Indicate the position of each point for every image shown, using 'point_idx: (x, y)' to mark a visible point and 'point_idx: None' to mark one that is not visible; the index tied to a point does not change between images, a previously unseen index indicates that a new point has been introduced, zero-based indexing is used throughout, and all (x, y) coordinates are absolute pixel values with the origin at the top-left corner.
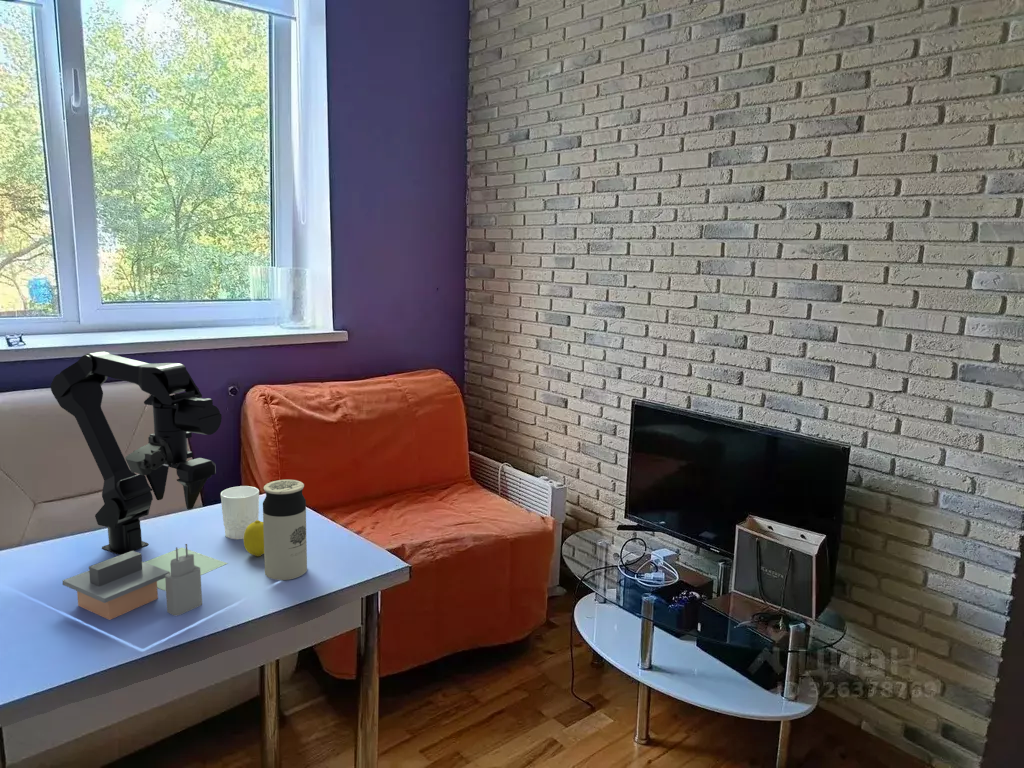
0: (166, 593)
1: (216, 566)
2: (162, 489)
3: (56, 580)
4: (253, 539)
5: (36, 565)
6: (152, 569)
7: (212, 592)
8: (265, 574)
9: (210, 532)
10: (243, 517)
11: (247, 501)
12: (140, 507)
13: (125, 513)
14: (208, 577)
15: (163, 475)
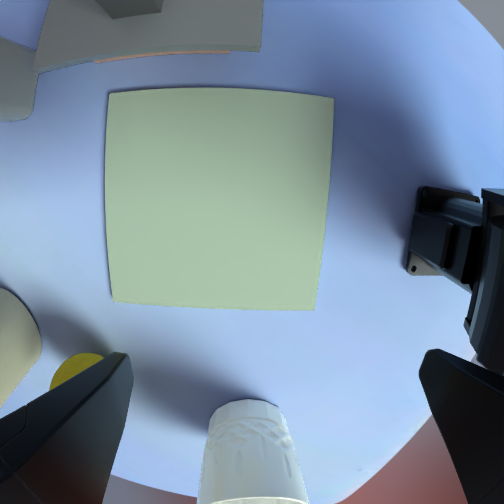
0: (8, 39)
1: (117, 272)
2: (445, 414)
3: (418, 28)
4: (58, 374)
5: (499, 83)
6: (84, 40)
7: (28, 172)
8: (13, 295)
9: (325, 399)
10: (207, 456)
11: (198, 498)
12: (484, 296)
13: (497, 224)
14: (92, 221)
15: (483, 486)
